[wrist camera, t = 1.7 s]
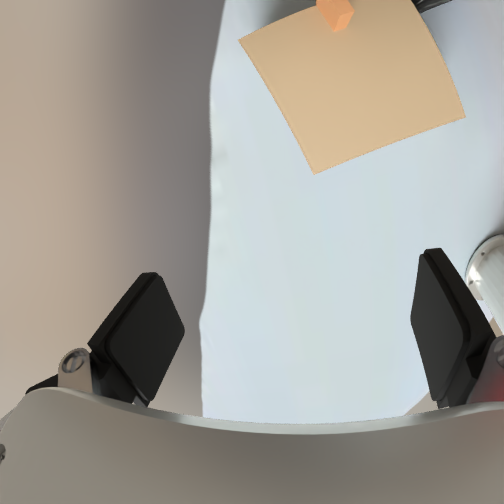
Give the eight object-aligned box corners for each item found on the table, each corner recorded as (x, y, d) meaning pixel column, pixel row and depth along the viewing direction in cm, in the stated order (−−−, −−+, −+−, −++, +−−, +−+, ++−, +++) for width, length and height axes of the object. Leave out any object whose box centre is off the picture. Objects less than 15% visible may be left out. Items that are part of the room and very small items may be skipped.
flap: (397, -15, 13) (415, -37, 9) (462, 116, 18) (494, 123, 14) (239, 41, 20) (221, 26, 15) (313, 173, 25) (315, 191, 20)
